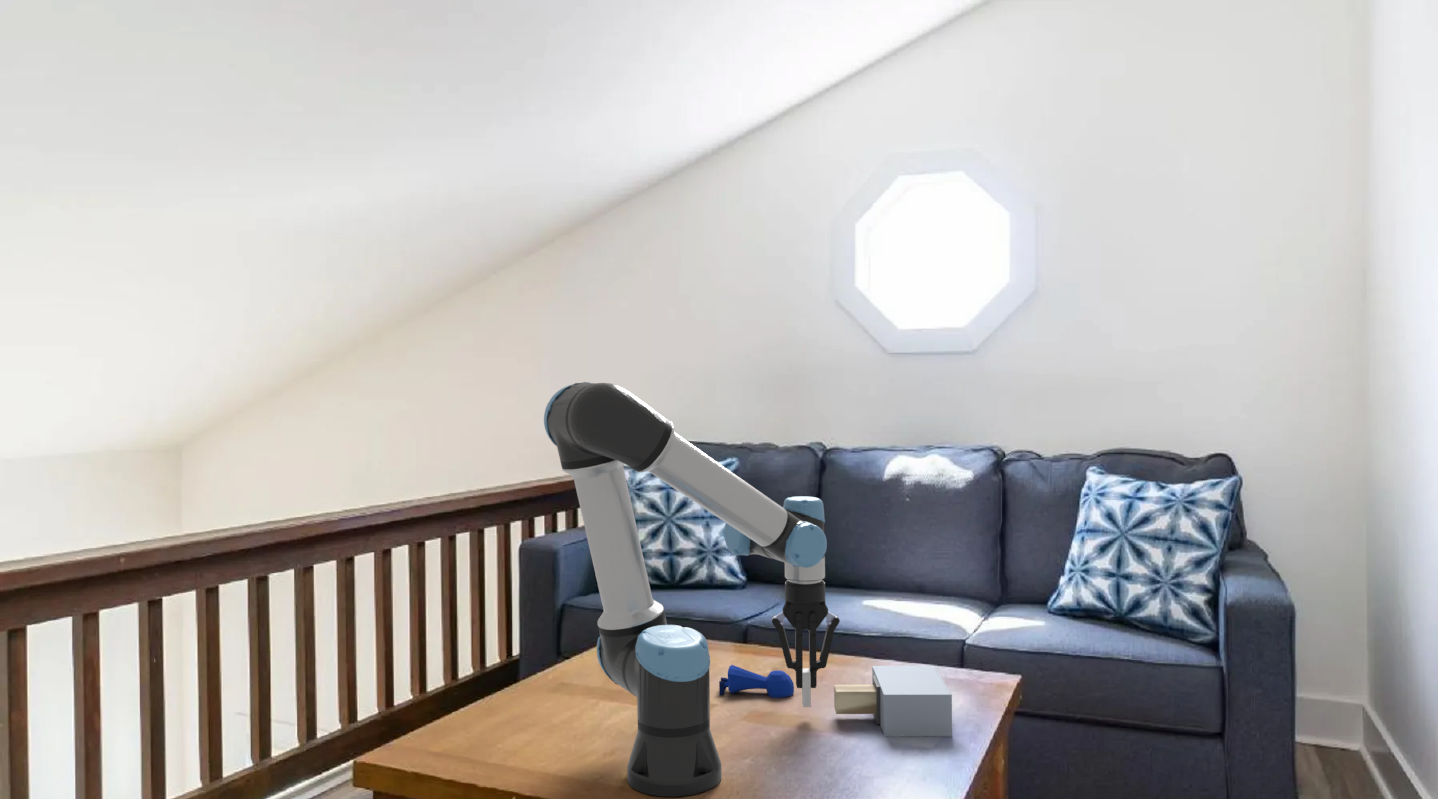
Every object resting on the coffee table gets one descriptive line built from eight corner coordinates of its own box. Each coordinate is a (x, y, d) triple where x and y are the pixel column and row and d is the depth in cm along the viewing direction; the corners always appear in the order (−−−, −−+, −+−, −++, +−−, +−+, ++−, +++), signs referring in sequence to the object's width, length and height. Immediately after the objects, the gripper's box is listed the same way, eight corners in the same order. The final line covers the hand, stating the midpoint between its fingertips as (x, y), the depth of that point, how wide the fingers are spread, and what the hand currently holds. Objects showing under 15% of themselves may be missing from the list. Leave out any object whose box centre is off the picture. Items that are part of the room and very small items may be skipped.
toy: (718, 701, 204) (793, 700, 202) (717, 670, 204) (791, 669, 202) (723, 690, 211) (795, 689, 209) (721, 660, 211) (793, 659, 208)
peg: (923, 714, 187) (922, 691, 187) (836, 714, 188) (835, 691, 187) (919, 706, 191) (919, 684, 191) (834, 706, 192) (834, 684, 192)
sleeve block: (952, 736, 180) (951, 694, 180) (880, 736, 180) (880, 694, 180) (934, 703, 198) (933, 665, 198) (869, 703, 198) (869, 665, 198)
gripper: (838, 575, 193) (839, 698, 193) (769, 576, 193) (771, 698, 194) (841, 583, 185) (843, 711, 186) (770, 584, 186) (772, 711, 186)
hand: (806, 704), depth 190 cm, fingers closed
